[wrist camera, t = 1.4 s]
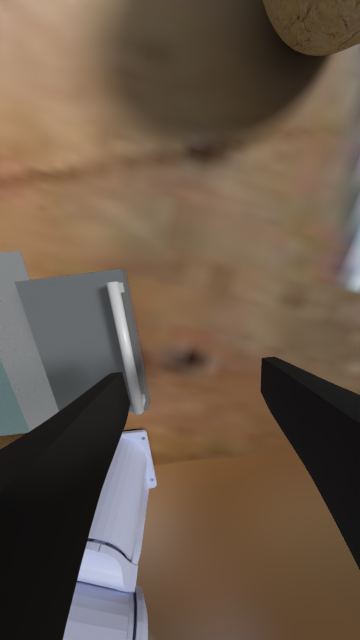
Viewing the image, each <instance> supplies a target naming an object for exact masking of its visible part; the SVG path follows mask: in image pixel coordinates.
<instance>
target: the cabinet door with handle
mask: <svg viewBox="0 0 360 640" xmlns="http://www.w3.org/2000/svg"><path fill="white" fill-rule="evenodd" d="M15 285H16V288H17V291H18V294H19V297H20V300H21V302H22V305H23V308H24V311H25V314H26V317H27V320H28V323H29V326H30V329H31V332H32V334H33V337H34V340H35V343H36V346H37V349H38V352H39V355H40V358H41V361H42V363H43V366H44V369H45V372H46V375H47V378H48V381H49V384H50V387H51V390H52V392H53V395H54V398H55V401H56V404H57V407H58V410H59V411H60V410H62V409H63V408H64V407H66V406H67V405H69V404H70V403H71V402H73V401H74V400H75V399H77V398H78V397H79V396H81V395H82V394H83V393H85V392H86V391H87V390H89V389H90V388H91V387H92V386H94V385H95V384H96V383H98V382H99V381H100V380H102V379H103V378H104V377H106V376H107V375H109V374H110V373H116V372H123V376H124V380H125V384H126V388H127V392H128V396H129V400H130V408H129V412H132V411H134V413H135V414H136V415H139V414H142V413H143V411H144V410H148V408H149V403H150V396H149V391H148V386H147V380H146V375H145V369H144V364H143V359H142V353H141V348H140V343H139V337H138V332H137V326H136V321H135V316H134V310H133V305H132V299H131V294H130V289H129V283H128V278H127V272H126V270H124V269H117V270H109V271H100V272H92V273H84V274H75V275H67V276H59V277H50V278H42V279H34V280H25V281H17V282H15Z"/></svg>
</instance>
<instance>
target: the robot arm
mask: <svg viewBox="0 0 360 640" xmlns="http://www.w3.org/2000/svg"><path fill="white" fill-rule="evenodd" d="M261 393H262V395H263V397H264V400H265V402H266V404H267V406H268V408H269V410H270V412H271V413H272V415H273V417H274V418H275V420H276V421H277V423H278V424H279V426H280V428H281V429H282V431H283V432H284V434H285V435H286V437H287V439H288V440H289V442H290V443H291V445H292V446H293V448H294V450H295V451H296V453H297V454H298V456H299V457H300V459H301V461H302V462H303V464H304V465H305V467H306V469H307V470H308V472H309V474H310V475H311V477H312V479H313V481H314V483H315V484H316V486H317V488H318V490H319V492H320V494H321V496H322V497H323V499H324V501H325V503H326V505H327V507H328V509H329V511H330V513H331V514H332V516H333V518H334V520H335V522H336V524H337V526H338V528H339V530H340V532H341V534H342V536H343V537H344V540H345V542H346V544H347V545H348V547H349V549H350V551H351V553H352V555H353V557H354V559H355V561H356V563H357V565H358V567H359V569H360V395H359V394H356V393H354V392H352V391H349V390H347V389H344V388H342V387H340V386H337V385H335V384H333V383H331V382H328V381H326V380H324V379H322V378H319V377H317V376H315V375H313V374H311V373H309V372H307V371H305V370H302V369H300V368H298V367H296V366H294V365H292V364H290V363H288V362H285V361H283V360H281V359H279V358H276V357H267V358H262V367H261ZM129 408H130V400H129V396H128V392H127V388H126V384H125V380H124V376H123V372H116V373H110V374H109V375H107V376H106V377H104V378H103V379H102V380H100V381H99V382H98V383H96V384H95V385H94V386H92V387H91V388H90V389H89V390H87V391H86V392H85V393H83V394H82V395H81V396H79V397H78V398H77V399H75V400H74V401H73V402H71V403H70V404H69V405H67V406H66V407H64V408H63V409H62V410H60V411H59V412H57V413H56V414H55V415H53V416H52V417H51V418H49V419H48V420H46V421H45V422H43V423H42V424H40V425H39V426H37V427H36V428H34V429H33V430H31V431H30V432H28V433H26V434H25V435H23V436H22V437H20V438H19V439H17V440H15V441H14V442H12V443H11V444H9V445H7V446H6V447H4V448H2V449H0V640H148V619H147V610H146V605H145V602H144V595H143V592H142V589H141V588H140V587H139V586H136V578H137V571H138V565H137V563H138V560H139V557H140V552H141V546H142V538H143V531H144V523H145V515H146V508H147V500H148V492H149V488H154V487H156V483H157V481H156V476H155V472H154V466H153V461H152V456H151V451H150V446H149V442H148V437H147V432H146V431H145V430H134V431H125V432H123V430H124V427H125V424H126V420H127V416H128V412H129Z"/></svg>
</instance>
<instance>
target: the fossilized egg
mask: <svg viewBox="0 0 360 640" xmlns="http://www.w3.org/2000/svg"><path fill="white" fill-rule="evenodd" d="M263 3H264V6H265V9H266V12H267V15H268V18H269V20H270V22H271V23H272V25H273V27H274V29H275V30H276V32H277V34H278V35H279V36H280V38H281V39H282V40H283V41H284V42H285V43H286V44H287V45H288V46H290V47H291V48H292V49H294V50H295V51H298V52H300V53H303V54H306V55H314V56H324V55H330V54H334V53H337V52H340V51H343V50H345V49H347V48H350V47H352V46H354V45H357V44H359V43H360V0H263Z"/></svg>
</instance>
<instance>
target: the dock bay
mask: <svg viewBox="0 0 360 640" xmlns="http://www.w3.org/2000/svg"><path fill="white" fill-rule="evenodd" d="M25 280H30V278H29V275H28V271H27V268H26V265H25V262H24V259H23V256H22V253H21V251H10V252H0V436H3V435H12V434H21V433H28V432H30V431H31V430H33V429H34V428H36V427H37V426H39V425H40V424H42V423H43V422H45V421H46V420H48V419H49V418H51V417H52V416H53V415H55V414H56V413H57V412H59V410H58V407H57V404H56V401H55V398H54V395H53V392H52V390H51V387H50V384H49V381H48V378H47V375H46V372H45V369H44V366H43V363H42V361H41V358H40V355H39V352H38V349H37V346H36V343H35V340H34V337H33V334H32V332H31V329H30V326H29V323H28V320H27V317H26V314H25V311H24V308H23V305H22V302H21V300H20V297H19V294H18V291H17V288H16V285H15V282H17V281H25Z"/></svg>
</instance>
